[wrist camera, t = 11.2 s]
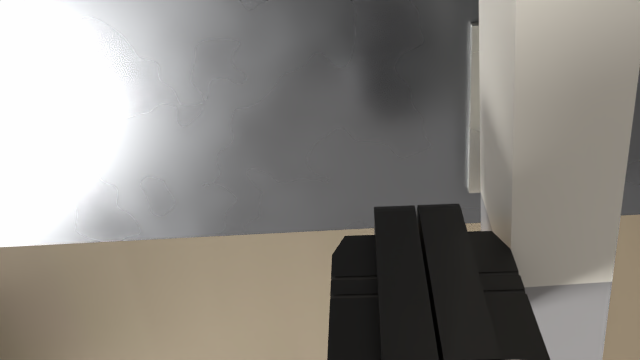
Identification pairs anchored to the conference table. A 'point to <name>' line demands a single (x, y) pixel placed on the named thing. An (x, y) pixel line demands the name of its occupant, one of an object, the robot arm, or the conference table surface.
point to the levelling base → (237, 116)
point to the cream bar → (558, 153)
